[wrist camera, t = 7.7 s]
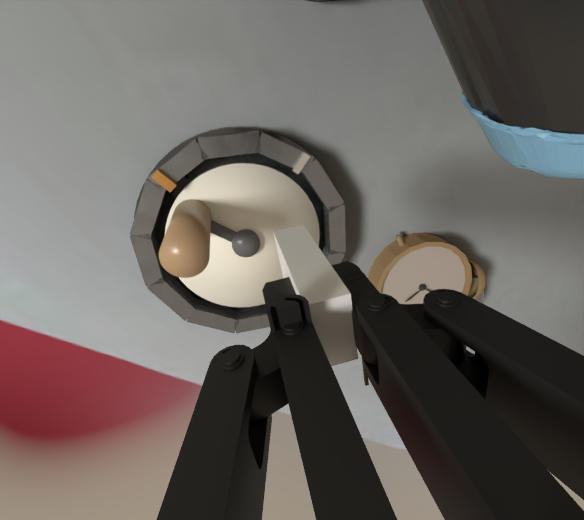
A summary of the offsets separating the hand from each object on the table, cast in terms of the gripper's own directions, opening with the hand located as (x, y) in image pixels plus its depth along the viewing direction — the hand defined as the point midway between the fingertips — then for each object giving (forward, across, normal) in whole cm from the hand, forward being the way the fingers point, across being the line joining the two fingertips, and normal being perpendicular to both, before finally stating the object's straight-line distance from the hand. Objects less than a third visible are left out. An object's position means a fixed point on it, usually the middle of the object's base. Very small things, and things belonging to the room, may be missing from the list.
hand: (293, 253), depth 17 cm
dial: (+16, -2, -5) cm, 17 cm away
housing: (+17, -2, -5) cm, 18 cm away
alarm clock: (+18, +17, -16) cm, 30 cm away
